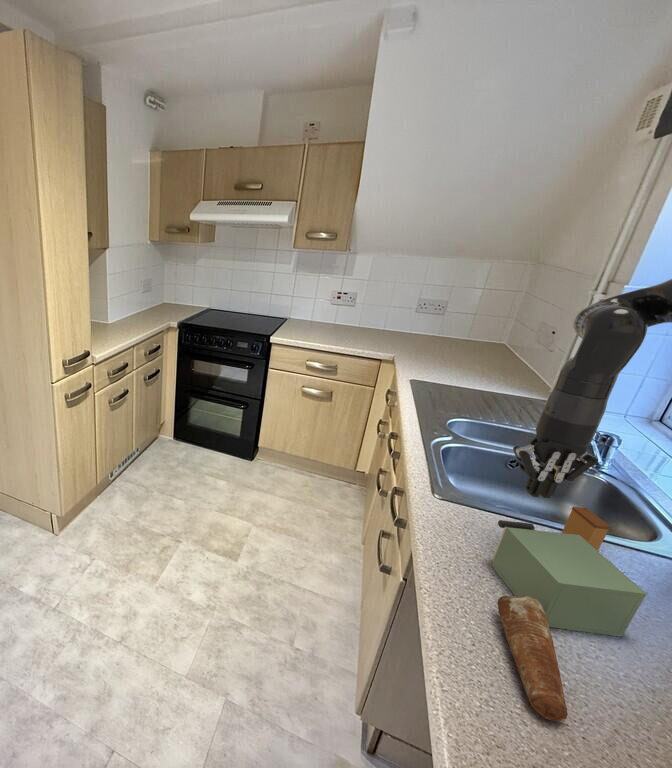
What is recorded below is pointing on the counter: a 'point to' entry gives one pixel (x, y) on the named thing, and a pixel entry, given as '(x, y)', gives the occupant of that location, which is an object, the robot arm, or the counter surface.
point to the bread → (534, 654)
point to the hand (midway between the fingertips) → (537, 494)
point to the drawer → (512, 525)
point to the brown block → (586, 526)
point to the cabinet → (568, 581)
